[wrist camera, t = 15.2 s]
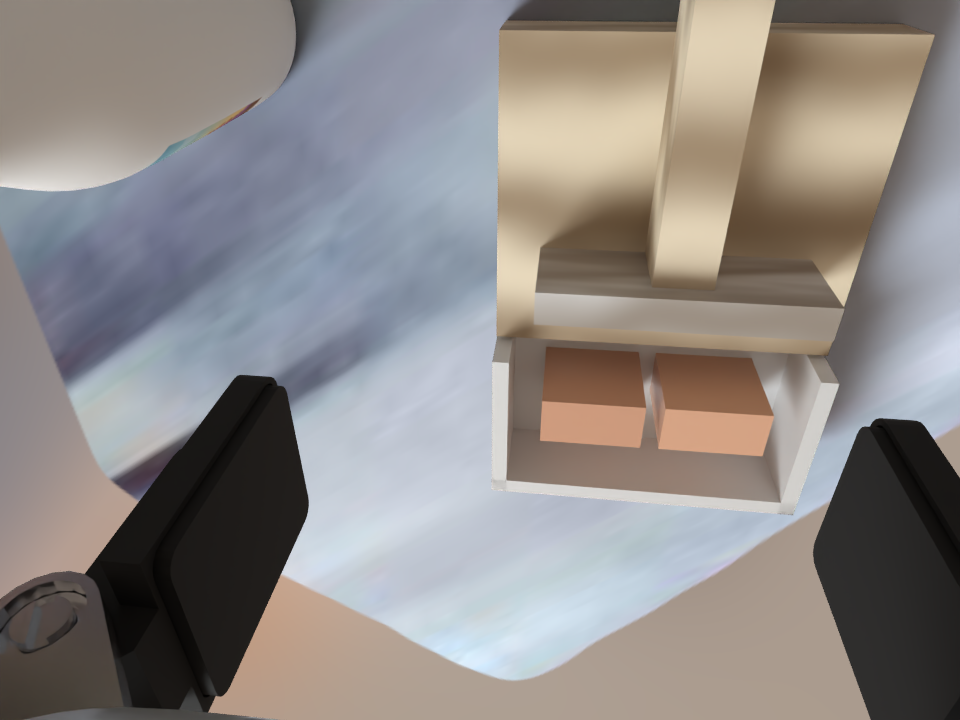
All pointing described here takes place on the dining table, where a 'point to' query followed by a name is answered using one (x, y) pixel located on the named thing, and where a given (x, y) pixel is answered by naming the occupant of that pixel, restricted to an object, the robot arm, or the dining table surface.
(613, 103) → the board
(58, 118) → the milk bottle
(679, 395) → the tile
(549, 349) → the tile
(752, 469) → the box
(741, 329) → the scraper
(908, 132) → the dining table surface
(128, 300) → the dining table surface
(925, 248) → the dining table surface
